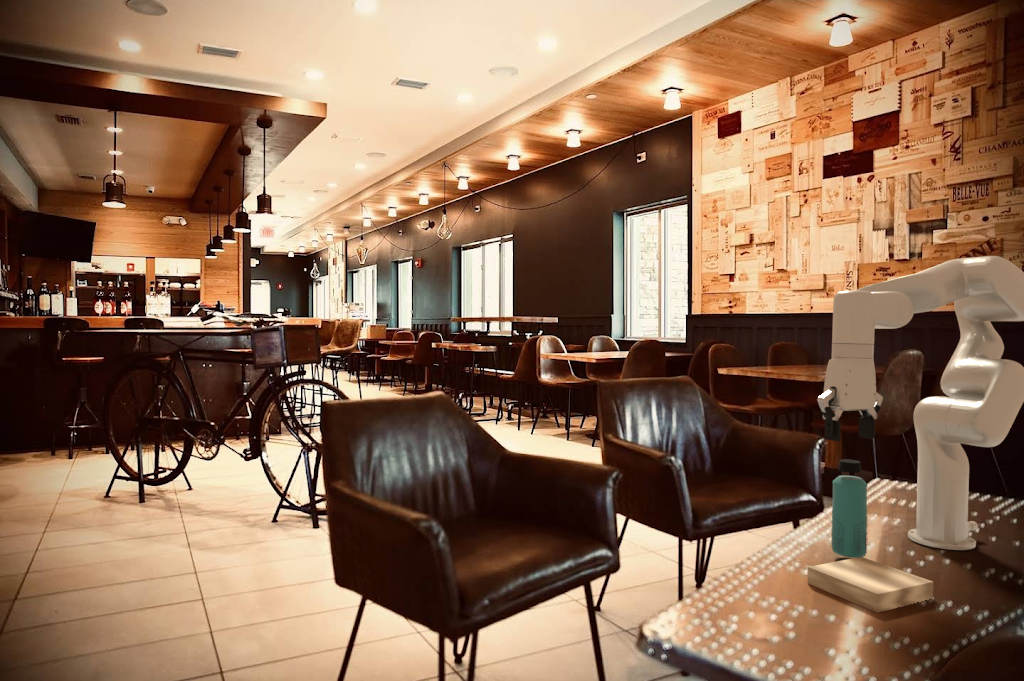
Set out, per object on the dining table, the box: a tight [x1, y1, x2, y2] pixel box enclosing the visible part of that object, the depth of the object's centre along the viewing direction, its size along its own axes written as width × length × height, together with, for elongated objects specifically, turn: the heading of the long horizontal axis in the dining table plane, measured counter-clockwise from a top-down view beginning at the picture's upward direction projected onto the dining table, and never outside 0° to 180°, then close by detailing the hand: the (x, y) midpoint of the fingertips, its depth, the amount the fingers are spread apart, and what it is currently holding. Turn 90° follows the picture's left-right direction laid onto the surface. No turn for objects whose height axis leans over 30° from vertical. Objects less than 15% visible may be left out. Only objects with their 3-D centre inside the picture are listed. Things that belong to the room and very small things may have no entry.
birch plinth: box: [807, 556, 934, 613], centre depth 123 cm, size 14×14×3 cm
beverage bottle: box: [830, 459, 869, 558], centre depth 139 cm, size 6×7×20 cm
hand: (849, 439), depth 139 cm, fingers open, 9 cm apart
